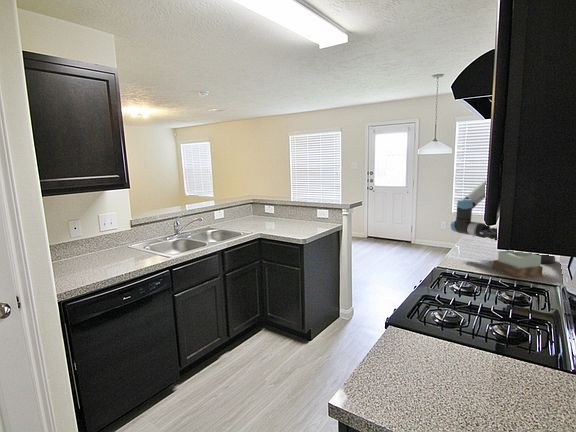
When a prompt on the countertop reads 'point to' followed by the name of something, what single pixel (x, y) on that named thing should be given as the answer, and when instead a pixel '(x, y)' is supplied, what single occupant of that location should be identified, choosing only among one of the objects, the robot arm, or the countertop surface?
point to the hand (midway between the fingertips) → (521, 237)
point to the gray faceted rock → (517, 253)
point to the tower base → (517, 270)
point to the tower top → (519, 259)
